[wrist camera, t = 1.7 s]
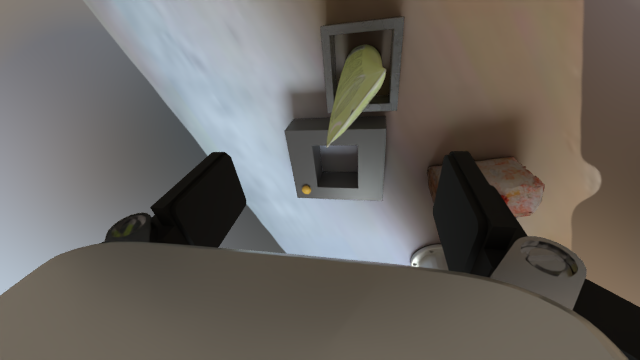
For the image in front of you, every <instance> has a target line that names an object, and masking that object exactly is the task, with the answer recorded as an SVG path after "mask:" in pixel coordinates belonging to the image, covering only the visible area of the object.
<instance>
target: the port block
mask: <svg viewBox="0 0 640 360" xmlns="http://www.w3.org/2000/svg"><path fill="white" fill-rule="evenodd" d="M329 123H330V118H310V119H293V121H292V122H291V123H290V125H289V126H288V127H287V128H286V130H285V135H286V140H287V146H288V151H289V156H290V161H291V166H292V171H293V176H294V181H295V186H296V191H297V197H298V198H319V199H344V200H368V201H382V200H383V182H384V164H385V146H386V117H385V116H373V117H357V118H356V119H355V121H354V122H353V123H352V124H351V125H350V126H349V127H348V128H347V129H346V130H345V132H344V133H342V134H341V135H340V136H339V137H338V138H337V139H336V140H334V141H333V142H332V143H331V144H330V145H358V172H323V170H322V161H321V152H320V146H321V145H327V136H328V129H329Z"/></svg>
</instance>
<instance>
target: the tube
mask: <svg viewBox="0 0 640 360" xmlns="http://www.w3.org/2000/svg"><path fill="white" fill-rule="evenodd" d="M385 75H386V69H385V68H383V67H382V61H381V56H380V54H379V52H378V51H377V50H376V49H375V48H374V47H373V46H370V45H360V46H357V47H356V48H354V49H353V50H352V51H351V52H350V53H349V55H348V57H347V59H346V62H345V65H344V67H343V70H342V73H341V77H340V80H339V84H338V88H337V92H336V96H335V100H334V104H333V109H332V113H331V118H330V123H329V129H328V136H327V146H326V148H328V146H329V145H330V144H331V143H332V142H333V141H334V140H336V139H337V138H338V137H339V136H340V135H341V134H342V133H344V132H345V130H346V129H347V128H348V127H349V126H350V125H351V124H352V123H353V122H354V121H355V119H356V118H357V117H358V116H359V115H360V113H361V112H362V111H363V110H364V108H365V107H366V106H367V104H368V103H369V102H370V101H371V100H372V98H373V97H374V96H375V95H376V93H377V92H378V91H379V89H380V88H381V86H382V84H383V82H384V79H385Z"/></svg>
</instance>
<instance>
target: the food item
mask: <svg viewBox="0 0 640 360" xmlns="http://www.w3.org/2000/svg"><path fill="white" fill-rule="evenodd" d="M475 162H476V164H477V166H478V167H479V169H480V170H481V172H482V173H483V175H484V176H485V178H486V180H487V181H488V183H489V184H490V185H492V186H494V187H495V188H496V189H497V191H498V192H499V194H500V195H501V197H502V198H503V200H504V201H505V203H506V204H507V206H508V207H509V209H510V210H511V212H512V213H513V215H514V216H515V218H517V217H520V216H529V215H531V214H532V213H534V212H535V211H536V210H537V208H538V206H539V204H540V203H541V201H542V194H543V192H544V188H545V185H544V184H543V183H542V181H541V180H540V179H539V178H537V177H536V176H533V174H532V173H531V172H530V171H528V170H527V169H526V167H525V166H524V167H523V166H522V164H520V163H519V162H518V161H517V160H516V159H515V158H514V157H507V158H499V159H489V160H484V161H475ZM441 169H442V165H441V166H432V167H428V172H427V175H428V184H429V189H430V193H431V196H432V199H433V203H434V201H435V197H436V192H437V188H438V183H439V178H440V174H441Z"/></svg>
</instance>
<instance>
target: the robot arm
mask: <svg viewBox="0 0 640 360" xmlns="http://www.w3.org/2000/svg"><path fill="white" fill-rule="evenodd" d="M245 206H246V198H245V195H244V192H243V189H242V187H241V184H240V181H239V178H238V176H237V173H236V170H235V167H234V164H233V162H232V159H231V157H230V156H229V155H228V154H227V153H225V152H212V153H211V154H210V155H209V156H207V157H206V158H205V159H204V160H203V161H202V162H201V163H200V164H199V165H197V166H196V167H195V168H194V169H193V170H192V171H191V172H189V173H188V174H187V175H186V176H185V177H184V178H183V179H182V180H181V181H179V182H178V183H177V184H176V185H175V186H174V187H173V188H172V189H170V190H169V191H168V192H167V193H166V194H165V195H164V196H163V197H161V198H160V199H159V200H158V201H157V202H156V203H155V204H154V205H152V206H151V209H152V211H153V212H154V214H155V215H154V216H153V217H151V216H150V215H149V214H147V213H137V214H133V215H130V216H128V217H125V218H123V219H121V220H120V221H118V222H117V223H115V224H114V225H113V226H112V227H111V228H110V229H109V230H108V232H107V234H106V238H105V241H104V242H102V243H99V244H94V245H90V246H86V247H81V248H77V249H74V250H71V251H68V252H65V253H63V254H60V255H58V256H56V257H54V258H52V259H50V260H49V261H47V262H46V263H44V264H43V265H41V266H40V267H38V268H37V269H35V270H34V271H33V272H31V273H30V274H29V275H27V276H26V277H24V278H23V279H22V280H20V281H19V282H18V283H16V284H15V285H14V286H12V287H11V288H10V289H9V290H7V291H6V292H4V293H3V294H2V295H0V360H640V307H638V306H636V305H634V304H633V303H631V302H629V301H627V300H625V299H623V298H621V297H619V296H618V295H616V294H614V293H612V292H610V291H608V290H606V289H604V288H602V287H601V286H598V285H597V284H595V283H593V282H591V281H589V280H587V279H585V278H586V267H585V265H584V263H583V261H582V260H581V259H580V258H579V257H578V256H577V255H576V254H575V253H573V252H572V251H571V250H569V249H568V248H566V247H565V246H563V245H561V244H559V243H557V242H554V241H551V240H549V239H546V238H541V237H536V236H527V234H526V233H525V231H524V230H523V228H522V227H521V225H520V224H519V222H518V221H517V219H516V218H515V216H514V215H513V213H512V212H511V210H510V209H509V207H508V206H507V204H506V203H505V201H504V200H503V198H502V197H501V195H500V194H499V192H498V191H497V189H496V188H495V187H494V186H492V185H490V184H489V183H488V181H487V180H486V178H485V176H484V175H483V173H482V172H481V170H480V169H479V167H478V166H477V164H476V162H475V161H474V159H473V158H472V156H471V155H470V153H469V152H468V151H452V152H450V154H449V155H445V157H444V160H443V164H442V169H441V174H440V178H439V183H438V188H437V192H436V197H435V201H434V206H433V216H434V219H435V223H436V227H437V230H438V234H439V237H440V241H441V244H436V245H430V246H427V247H424V248H422V249H420V250H418V251H417V252H416V253H415V254H414V255H413V256H412V258H411V266H406V265H397V264H388V263H378V262H368V261H357V260H347V259H337V258H326V257H316V256H305V255H294V254H283V253H272V252H260V251H250V250H239V249H227V248H218V247H219V246H220V244H221V243H222V241H223V240H224V238H225V236H226V235H227V233H228V232H229V230H230V229H231V227H232V226H233V224H234V223H235V221H236V220H237V218H238V216H239V215H240V214H241V212H242V210H243V209H244V207H245Z"/></svg>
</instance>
